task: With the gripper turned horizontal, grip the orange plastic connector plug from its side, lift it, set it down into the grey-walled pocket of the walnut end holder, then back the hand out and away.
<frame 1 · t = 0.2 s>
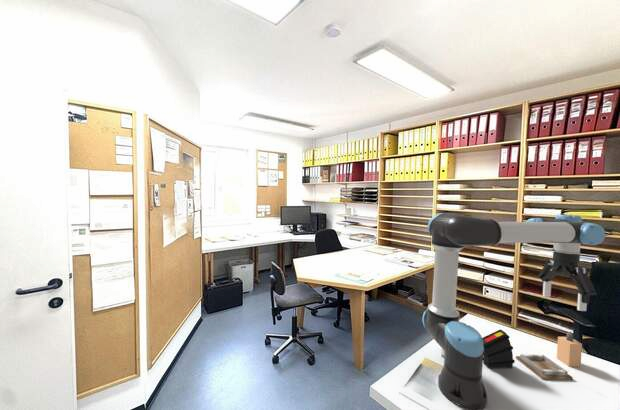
hand: (562, 303, 99), 28 cm above the table, fingers open, 13 cm apart
light switch: (454, 359, 105), on the table
end holder: (542, 368, 100), on the table
magazine: (495, 366, 101), on the table
connector plug: (568, 362, 104), on the table
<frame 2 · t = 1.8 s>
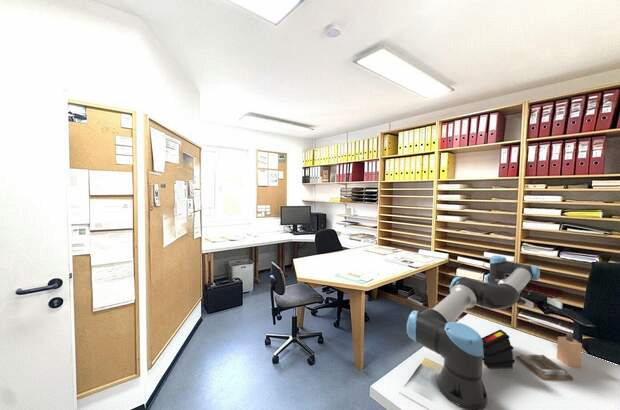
hand: (547, 305, 113), 20 cm above the table, fingers open, 13 cm apart
nothing on the table moved.
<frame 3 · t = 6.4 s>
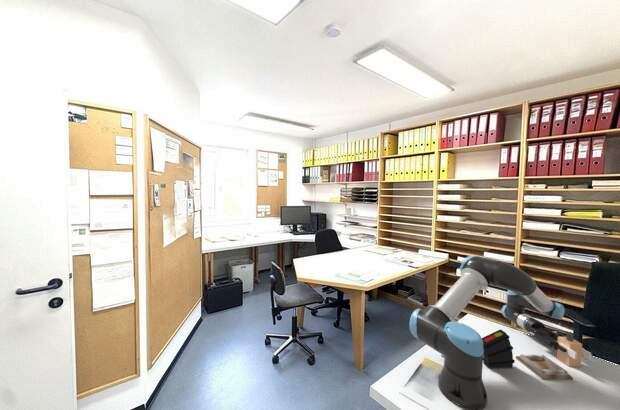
hand: (582, 356, 98), 7 cm above the table, fingers closed on connector plug, 5 cm apart
connector plug: (568, 362, 104), on the table, touching gripper
everything else where it was.
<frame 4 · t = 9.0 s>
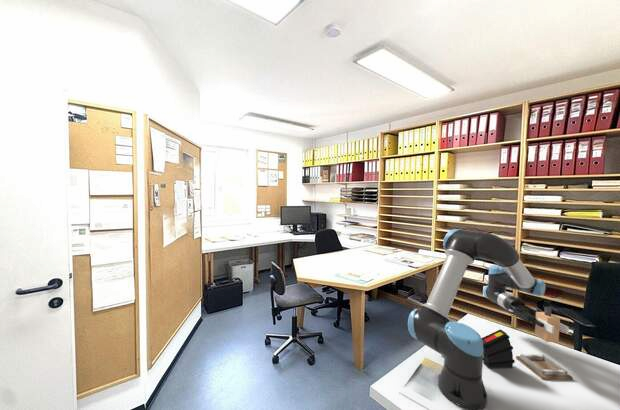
hand: (560, 330, 94), 19 cm above the table, fingers closed on connector plug, 5 cm apart
connector plug: (546, 338, 100), point 13 cm above the table, touching gripper
everything else where it was.
when the fingers open (9 cm above the table, at t = 11.5 s): connector plug drops 1 cm, resting on end holder.
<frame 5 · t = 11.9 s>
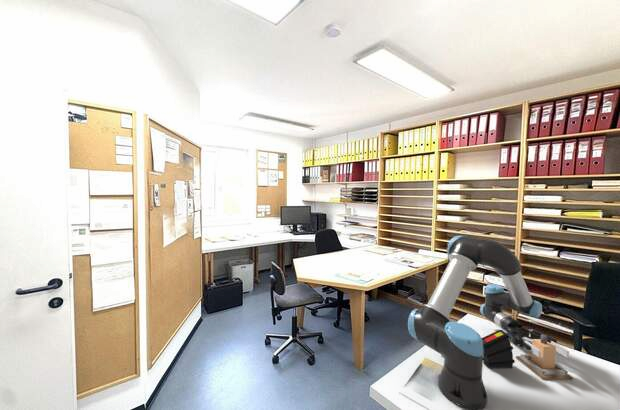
hand: (553, 354, 95), 9 cm above the table, fingers open, 10 cm apart
connector plug: (542, 366, 100), point 1 cm above the table, touching end holder
everything else where it was.
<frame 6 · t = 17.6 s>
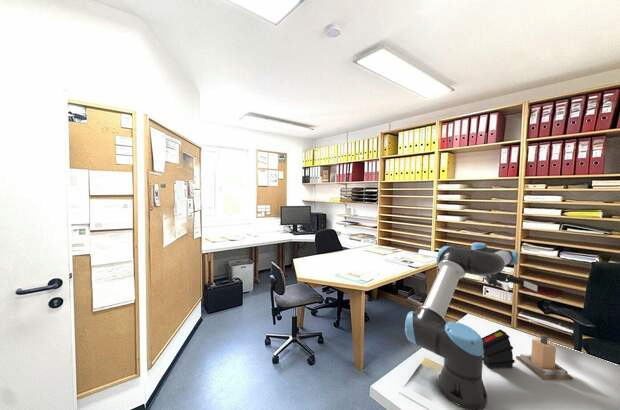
hand: (522, 288, 114), 28 cm above the table, fingers open, 13 cm apart
nothing on the table moved.
at the end: connector plug 0.0 cm off-centre on the end holder, point 1.0 cm above the end holder's base; connector plug tilted 0°; the gripper is holding nothing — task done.
